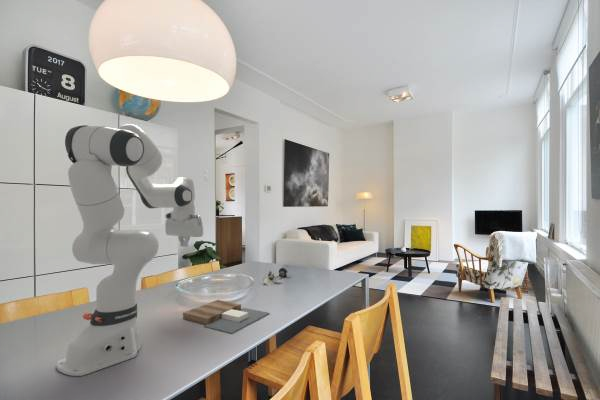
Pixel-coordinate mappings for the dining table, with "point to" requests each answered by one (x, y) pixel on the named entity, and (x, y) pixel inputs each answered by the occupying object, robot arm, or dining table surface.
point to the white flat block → (235, 315)
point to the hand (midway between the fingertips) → (184, 246)
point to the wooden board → (210, 311)
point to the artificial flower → (271, 276)
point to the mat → (234, 326)
